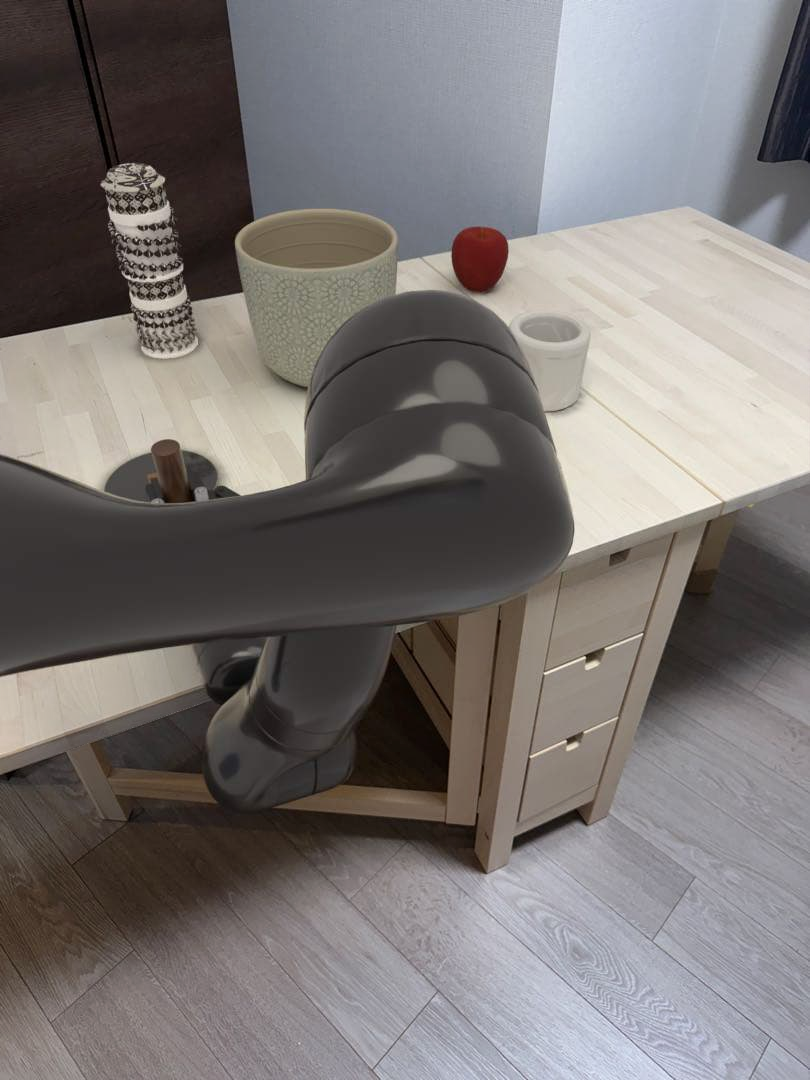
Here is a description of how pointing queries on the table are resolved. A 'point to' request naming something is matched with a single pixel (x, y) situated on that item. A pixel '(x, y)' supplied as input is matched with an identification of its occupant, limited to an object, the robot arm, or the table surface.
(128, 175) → the white patterned cylinder
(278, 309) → the planter
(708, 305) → the table surface
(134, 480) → the plate
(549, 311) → the mug
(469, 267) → the apple
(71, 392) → the table surface
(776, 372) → the table surface
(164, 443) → the wooden peg
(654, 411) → the table surface
